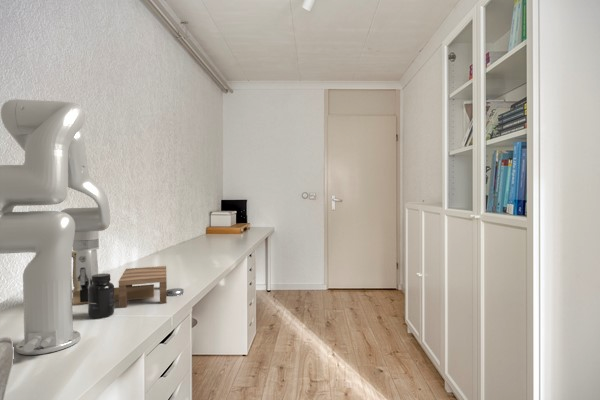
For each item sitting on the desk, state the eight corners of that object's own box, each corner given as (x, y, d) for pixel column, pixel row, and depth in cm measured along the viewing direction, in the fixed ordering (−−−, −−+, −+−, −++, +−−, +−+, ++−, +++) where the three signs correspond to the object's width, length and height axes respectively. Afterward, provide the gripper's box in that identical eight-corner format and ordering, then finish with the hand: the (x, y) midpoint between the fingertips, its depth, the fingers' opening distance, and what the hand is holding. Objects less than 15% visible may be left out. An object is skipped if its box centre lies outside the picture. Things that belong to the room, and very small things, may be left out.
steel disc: (184, 295, 130) (184, 291, 130) (166, 297, 128) (166, 293, 128) (182, 291, 136) (182, 287, 136) (165, 293, 133) (165, 289, 133)
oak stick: (153, 297, 128) (153, 285, 128) (73, 305, 120) (72, 292, 120) (154, 295, 130) (153, 284, 130) (74, 303, 122) (74, 291, 122)
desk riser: (166, 303, 120) (165, 277, 120) (119, 308, 116) (118, 281, 116) (166, 287, 141) (166, 265, 141) (126, 291, 136) (126, 268, 136)
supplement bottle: (85, 320, 105) (84, 278, 104) (91, 313, 111) (91, 273, 111) (111, 317, 106) (110, 276, 106) (116, 310, 113) (116, 271, 113)
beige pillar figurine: (85, 292, 136) (84, 251, 136) (66, 293, 135) (65, 252, 135) (90, 289, 141) (90, 250, 141) (72, 290, 140) (72, 250, 140)
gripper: (93, 247, 116) (94, 305, 116) (103, 241, 131) (104, 293, 131) (66, 248, 113) (67, 308, 114) (79, 243, 129) (80, 295, 129)
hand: (87, 299), depth 122 cm, fingers closed on oak stick, 2 cm apart
